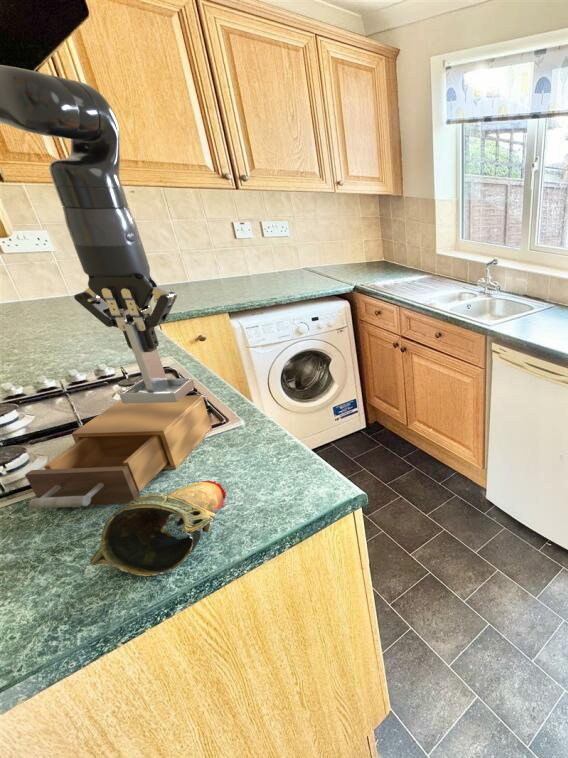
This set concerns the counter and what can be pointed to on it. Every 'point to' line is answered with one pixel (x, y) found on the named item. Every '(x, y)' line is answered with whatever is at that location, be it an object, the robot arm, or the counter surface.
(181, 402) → the cabinet
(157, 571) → the pot
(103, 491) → the drawer
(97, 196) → the robot arm
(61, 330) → the counter surface
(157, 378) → the inverted t stand
